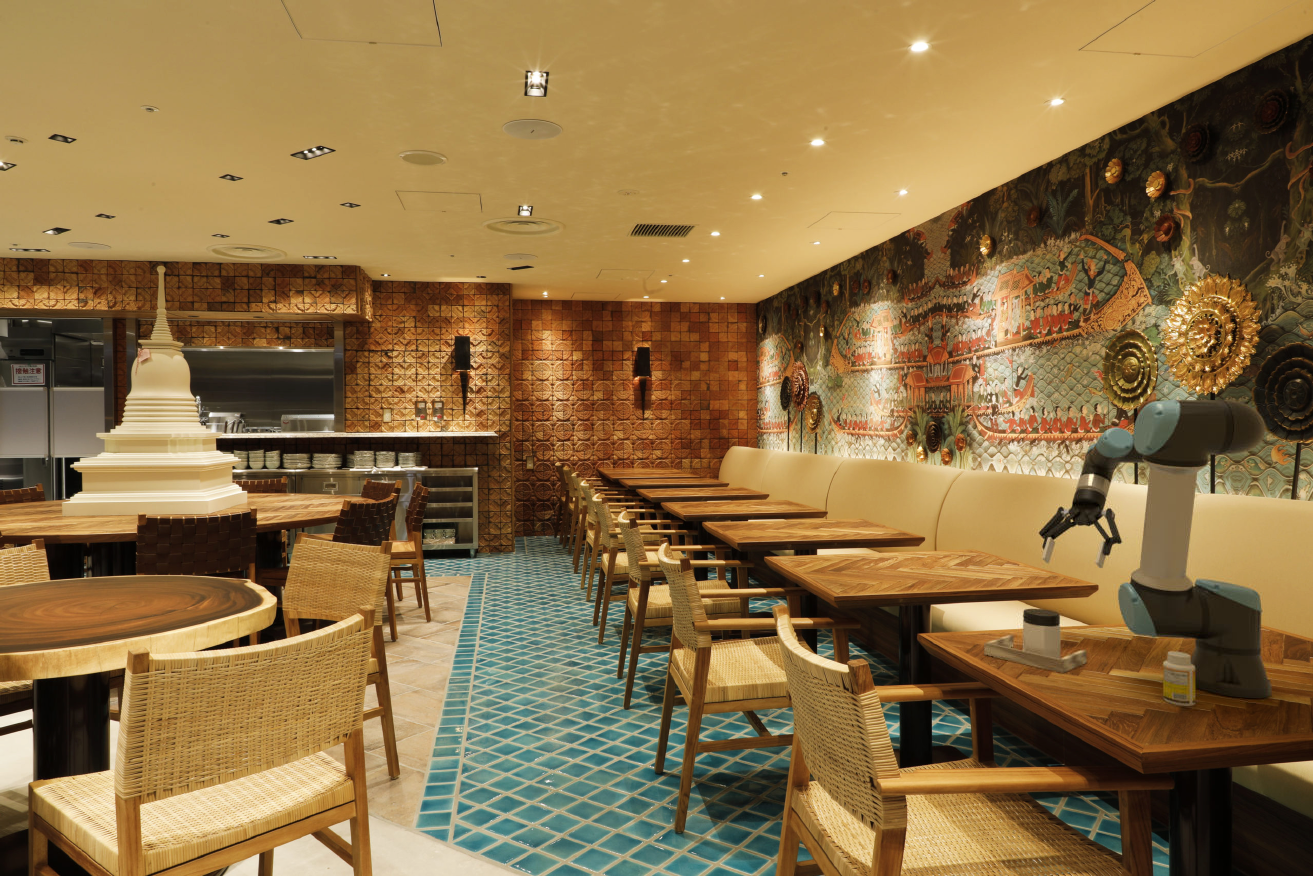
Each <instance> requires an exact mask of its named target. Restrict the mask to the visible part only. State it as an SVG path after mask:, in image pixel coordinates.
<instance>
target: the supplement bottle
mask: <svg viewBox="0 0 1313 876" xmlns="http://www.w3.org/2000/svg"><path fill="white" fill-rule="evenodd" d="M1166 657H1167V659H1166V660H1165V661H1163V664H1162V679H1163V680H1162V683H1163V684H1162V686H1163V687H1162V691H1163V692H1162V694H1163V699H1164V701H1165V702H1167V703H1168V704H1172V705H1174V706H1179V707H1180V706H1181V707H1192V706H1194V705H1196V703H1197V702H1196V700H1197V699H1196V687H1195V666H1194V665H1193V664H1191V658H1192V655H1190V654H1188V653H1186V652H1182V651H1175V650H1174V651H1168V652H1167V656H1166Z"/></svg>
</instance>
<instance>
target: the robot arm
mask: <svg viewBox="0 0 1313 876" xmlns="http://www.w3.org/2000/svg"><path fill="white" fill-rule="evenodd" d="M1132 433H1133V434H1132ZM1132 433H1131V432H1129V430H1126V429H1123V428H1121V427H1111V428H1109V429H1107V430H1105V431H1104V432H1103V433H1101V435H1100V436H1099V437H1098V439H1097V440H1096V442H1095V443H1092V444H1090V445H1089V447H1088V449H1087V451H1086V453H1085V456H1084V462H1083V465H1082V468H1081V471H1080V472H1081V473H1080V476H1079V478H1078V481H1077V485H1076V488H1075V492H1074V494H1073V498H1072V502H1071V507H1070V508H1069V509H1068V508H1064V507H1063V506H1059V507H1058V508H1057V511H1056V513H1054V516H1052V517H1051V519H1049V521H1048V522H1047V523H1046V524H1045V525H1044V526H1043V527H1042V528H1041V529H1040V531H1039V532H1038V534H1039V535H1040V537H1041V538H1042V539H1043V543H1042V549H1043V553H1042V556H1041V559H1042V560H1043V561H1044V563H1046V564H1050V561H1051V558H1052V554H1053V552H1054V548H1055V545H1056V542H1055V539H1057V538H1058V537H1060V536H1061V535H1063V534H1064V533H1065V532H1067V531H1068V530H1070V529H1071V528H1074V527H1076V526H1080V527H1081V526H1085V527H1086V526H1087V527H1090V526H1094V527H1095V529H1096V530H1097V531H1098V532H1099V534H1100V536H1101V537H1102V538H1103V539H1104V540H1100V543H1099V547H1098V551H1097V554H1096V557H1095V561H1094V563H1095V564H1096V566H1097V567H1098V568H1100V569H1103V568H1104V565H1105V560H1106V558H1107V557H1108V556H1110V554H1111V551H1112V547H1113V545H1115V544H1118V545H1121V544H1122V543H1123V541H1122V538H1121V536H1120V533H1119V530H1118V527H1117V523H1116V521H1115V519H1116V518H1115V517H1116V513H1115V512H1114V511H1113V510H1112V508H1109V507H1107V508H1106V510H1104V508H1105V505H1106V502H1107V497H1108V495H1109V494H1108V493H1109V491H1110V487H1111V482H1112V479H1113V476H1114V473H1115V470H1116V469H1117V468H1118V467H1119V465H1121V464H1122V463H1124V464H1128V463H1129V464H1131V463H1132V464H1146V465H1147V466H1148V467H1149V471H1148V473H1149V474H1148V483H1147V493H1146V500H1145V501H1146V503H1145V512H1144V523H1143V532H1142V533H1143V534H1142V541H1141V552H1140V563H1139V568H1137V569H1136V570H1133V571H1132V572H1131V574H1130V581H1129V582H1124V583H1121V584H1120V585H1119V587H1118V594H1117V601H1118V605H1119V611H1120V614H1121V617H1122V620H1123V622H1124V623H1125V625H1126V627H1127V628H1128V630H1129V631H1130V632H1131V633H1133V634H1134V635H1138V636H1146V637H1150V638H1151V637H1152V638H1158V637H1159V638H1176V639H1193V640H1195V642H1194V643H1195V644H1194V646H1195V648H1194V650H1193V653H1192V655H1191V664H1193V665H1194V666H1195V689H1200V690H1202V691H1205V692H1210V693H1214V694H1217V695H1223V696H1228V697H1233V698H1241V699H1242V698H1245V699H1263V698H1268V697H1269V698H1270V697H1271V695H1272V683H1271V680H1270V679H1268V675H1267V672H1266V668H1265V665H1264V663H1263V660H1262V649H1261V648H1262V613H1263V609H1262V604H1261V595H1260V594H1259V592H1258V591H1256V590H1255V589H1254V588H1253V589H1252V588H1250V587H1246V586H1244V585H1240V584H1235V583H1229V582H1226V581H1221V580H1220V581H1219V580H1215V579H1207V578H1205V579H1204V578H1197V579H1195V582H1193V581H1192V580H1191V579H1190V578H1189V577H1188V576H1187V575H1186V574H1187V569H1188V567H1187V566H1188V565H1187V564H1188V558H1189V549H1190V541H1191V531H1192V525H1193V524H1192V523H1193V515H1194V507H1195V506H1194V505H1195V496H1196V489H1197V488H1196V487H1197V482H1198V481H1197V478H1198V472H1199V471H1201V470H1202V469H1204V468H1206V467H1207V466H1208V461H1209V455H1211V456H1212V455H1213V456H1214V455H1216V456H1217V455H1218V456H1219V455H1236V454H1241V453H1246V452H1248V451H1250V450H1253V449H1254V448H1256V447H1258V446H1259V444H1260V443H1261V442H1262V440H1263V439H1264V438H1265V433H1266V424H1265V421H1264V419H1263V417H1262V415H1261V413H1259V412H1258V411H1257V409H1255V408H1253V407H1252V406H1250V405H1248V404H1246V403H1243V402H1239V401H1237V400H1230V399H1229V400H1228V399H1218V400H1216V399H1215V400H1212V399H1210V400H1208V399H1204V400H1202V399H1201V400H1200V399H1199V400H1198V399H1169V400H1158V401H1157V400H1155V401H1152V402H1149V403H1147V404H1145V405H1144V407H1143V408H1142V409H1141V410H1140V412H1139V413H1138V415H1137V417H1136V420H1135V422H1134V427H1133V432H1132ZM1103 517H1104V518H1105V519H1106V521H1107V524H1108V527H1109V530H1110V533H1111V536H1112V537H1111V536H1109V535H1108V533H1107V532H1106V530H1105V529H1104V527H1102V525H1101V523H1100V522H1099V520H1101V519H1102V518H1103ZM1106 556H1107V557H1106Z"/></svg>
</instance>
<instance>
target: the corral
mask: <svg viewBox="0 0 1313 876" xmlns="http://www.w3.org/2000/svg"><path fill="white" fill-rule="evenodd" d="M1014 637H1015V636H1014V635H1012V634H1008V635H1005V636H1002V637H999V638H997V639H993V640H989V641H986V642H984V646H983V647H984V651H983V652H984V653H983V654H984V656H987V655H988V657H991V656H993V657H992V658H996V659H1000V660H1005V661H1009V662H1013V663H1017V664H1022V665H1026V666H1030V667H1034V668H1039V669H1043V670H1048V671H1052V672H1056V673H1061V674H1064V673H1067V672H1069V671H1071V670H1073V669H1075V668H1078V667H1080V666H1082V665H1084V664H1086V663H1087V650H1086V649H1081V650H1078V651H1075V652H1073V653H1071V654H1068V655H1066V656H1064V657H1060V659H1059V658H1054V657H1050V656H1045V655H1041V654H1036V653H1032V652H1027V651H1023V649H1022V650H1021V649H1016V648H1014ZM1011 647H1012V648H1011Z"/></svg>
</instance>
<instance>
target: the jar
mask: <svg viewBox="0 0 1313 876" xmlns="http://www.w3.org/2000/svg"><path fill="white" fill-rule="evenodd" d="M1022 617H1023V619H1022V651H1027V652H1032V653H1036V654H1041V655H1045V656H1050V657H1054V658H1059V659H1061V625H1060V624H1061V619H1060V618H1061V613H1060V612H1058V611H1055V610H1050V609H1044V608H1026V609H1024V610H1023V612H1022Z"/></svg>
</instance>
